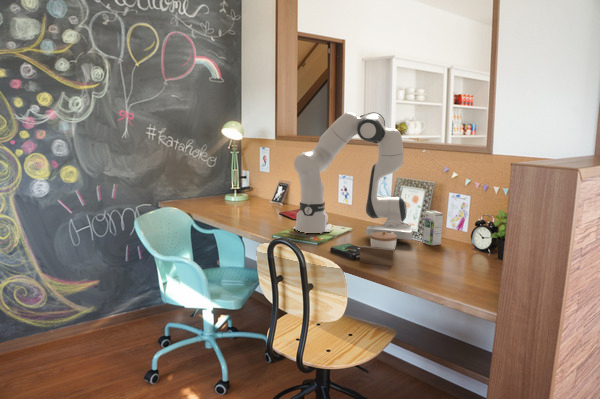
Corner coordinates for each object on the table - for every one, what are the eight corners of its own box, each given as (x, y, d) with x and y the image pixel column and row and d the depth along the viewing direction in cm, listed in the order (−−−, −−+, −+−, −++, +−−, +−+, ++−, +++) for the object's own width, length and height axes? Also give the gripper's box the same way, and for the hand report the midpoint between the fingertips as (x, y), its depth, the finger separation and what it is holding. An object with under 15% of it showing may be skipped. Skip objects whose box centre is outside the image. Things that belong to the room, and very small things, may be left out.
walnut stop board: (360, 260, 181) (361, 245, 180) (393, 264, 177) (393, 248, 176) (359, 262, 179) (360, 247, 178) (392, 265, 175) (393, 250, 174)
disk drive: (372, 258, 187) (348, 249, 198) (373, 251, 186) (348, 242, 198) (353, 262, 181) (329, 252, 192) (354, 255, 180) (329, 246, 192)
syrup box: (422, 242, 209) (424, 210, 207) (433, 241, 211) (435, 210, 209) (430, 245, 204) (432, 213, 201) (441, 244, 206) (443, 212, 204)
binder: (302, 208, 276) (319, 215, 258) (302, 212, 276) (319, 219, 258) (277, 211, 269) (294, 218, 250) (277, 215, 269) (294, 222, 251)
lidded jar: (401, 254, 190) (402, 232, 188) (382, 258, 184) (383, 235, 182) (383, 248, 198) (384, 227, 197) (364, 252, 192) (365, 230, 191)
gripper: (368, 220, 214) (363, 227, 201) (414, 224, 208) (411, 231, 195) (368, 234, 215) (362, 241, 202) (413, 238, 209) (410, 246, 196)
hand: (386, 236), depth 199 cm, fingers closed
